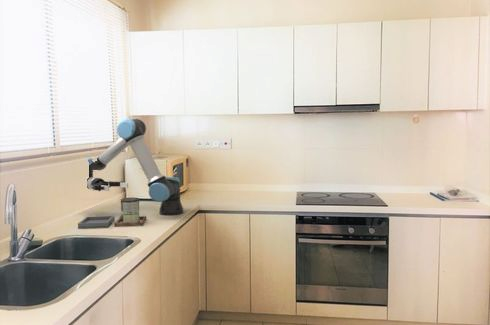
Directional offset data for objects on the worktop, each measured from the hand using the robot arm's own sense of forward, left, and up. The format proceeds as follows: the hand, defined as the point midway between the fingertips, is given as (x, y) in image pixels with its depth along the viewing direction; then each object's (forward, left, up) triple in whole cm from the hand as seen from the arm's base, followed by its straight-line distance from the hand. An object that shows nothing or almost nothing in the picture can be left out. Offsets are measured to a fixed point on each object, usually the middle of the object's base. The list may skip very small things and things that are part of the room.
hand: (118, 187), depth 241 cm
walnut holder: (-8, +6, -20) cm, 23 cm away
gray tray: (+11, +7, -20) cm, 24 cm away
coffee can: (-8, +6, -20) cm, 23 cm away
